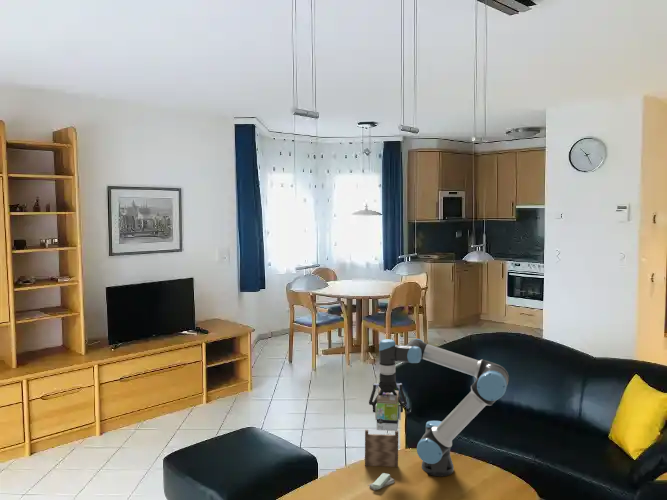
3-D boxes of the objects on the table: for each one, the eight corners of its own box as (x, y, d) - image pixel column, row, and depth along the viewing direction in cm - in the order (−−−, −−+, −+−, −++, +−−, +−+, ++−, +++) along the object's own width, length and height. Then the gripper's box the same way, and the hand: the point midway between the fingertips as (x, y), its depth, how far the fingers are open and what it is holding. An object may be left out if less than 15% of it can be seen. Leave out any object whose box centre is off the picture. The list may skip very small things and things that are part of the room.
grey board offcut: (388, 479, 255) (388, 476, 255) (394, 482, 253) (394, 479, 252) (369, 487, 248) (369, 484, 248) (374, 490, 245) (374, 487, 245)
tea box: (398, 431, 253) (397, 399, 253) (376, 430, 255) (375, 398, 254) (399, 419, 268) (399, 389, 267) (378, 418, 270) (378, 388, 269)
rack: (397, 466, 270) (398, 430, 269) (397, 468, 268) (398, 432, 267) (364, 465, 271) (365, 429, 270) (364, 467, 269) (365, 431, 268)
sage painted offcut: (382, 475, 256) (382, 472, 256) (390, 477, 254) (390, 474, 254) (372, 487, 245) (372, 484, 245) (379, 489, 244) (379, 485, 243)
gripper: (411, 370, 263) (411, 416, 265) (363, 370, 264) (363, 416, 266) (412, 374, 256) (413, 421, 257) (363, 375, 257) (363, 421, 258)
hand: (387, 419), depth 261 cm, fingers closed on tea box, 10 cm apart
